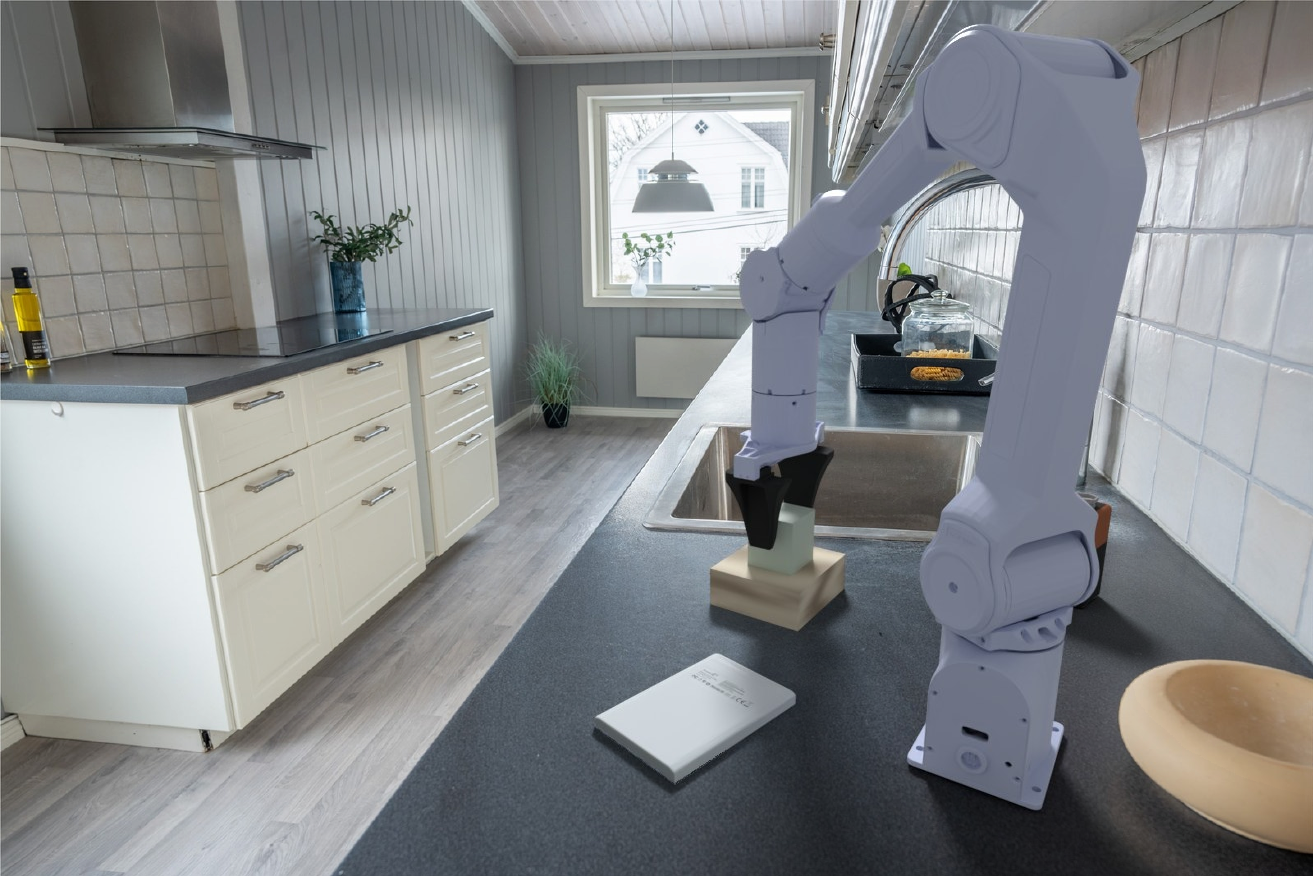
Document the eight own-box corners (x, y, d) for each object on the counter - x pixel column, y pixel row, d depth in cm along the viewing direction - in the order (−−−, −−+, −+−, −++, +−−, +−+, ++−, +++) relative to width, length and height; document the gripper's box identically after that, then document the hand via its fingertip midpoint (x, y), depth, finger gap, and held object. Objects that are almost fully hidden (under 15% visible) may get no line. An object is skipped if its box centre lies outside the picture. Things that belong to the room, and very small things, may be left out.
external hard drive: (594, 734, 55) (714, 667, 63) (674, 792, 49) (796, 710, 57) (593, 714, 55) (714, 649, 63) (674, 770, 49) (796, 691, 57)
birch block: (797, 635, 67) (799, 593, 66) (709, 607, 73) (710, 568, 72) (843, 592, 75) (845, 554, 74) (761, 570, 80) (762, 534, 79)
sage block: (791, 576, 70) (792, 523, 68) (747, 564, 72) (748, 513, 71) (813, 559, 73) (814, 509, 72) (770, 548, 76) (771, 500, 74)
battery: (1083, 611, 70) (1097, 506, 67) (1007, 587, 75) (1018, 488, 72) (1101, 595, 73) (1115, 495, 70) (1027, 573, 78) (1038, 478, 75)
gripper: (779, 372, 77) (775, 502, 80) (702, 399, 65) (702, 550, 69) (847, 379, 73) (841, 515, 76) (779, 409, 61) (775, 568, 65)
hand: (780, 533), depth 72 cm, fingers open, 7 cm apart
